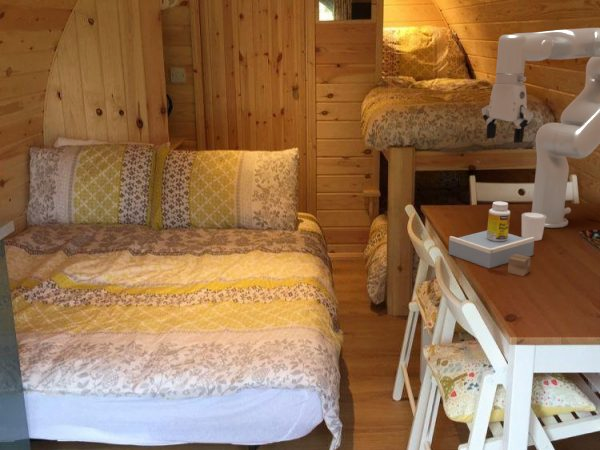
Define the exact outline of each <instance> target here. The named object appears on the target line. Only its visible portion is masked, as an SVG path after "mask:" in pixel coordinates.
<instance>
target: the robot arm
mask: <svg viewBox="0 0 600 450" xmlns="http://www.w3.org/2000/svg"><path fill="white" fill-rule="evenodd" d="M582 58H583V59H584V58H589V60H588V61H587V63H586V67H585V84H584V88H583V90H581V92H580V93H579V94H578V95H577V96H576V97H575V98H574V99H573V100H572V101H571V102H570V104H568V106H566V108H565V109H564V110H563V112H562V113H561V115H560V122H548V123H545V124H543V125H541V126H540V127H539V128H538V130H537V132H536V135H535V149H536V167H535V175H534V177H535V178H534V187H533V197H532V203H531V204H532V207H531V212H535V213H541V214H544V215H546V221H545V226H544V228H548V229H549V228H552V229H553V228H554V229H555V228H557V229H558V228H564V227H566V226H568V225H569V220H568V219H567V218H565V215H568V214H570V213H571V212H572V209H571V208H570V207H569V206H568V207H565V203H566V197H567V196H566V195H567V187H568V181H569V180H568V179H569V174H570V173H569V172H570V169H569V168H570V167H569V163H568V160H567V158H571V159H577V160H578V159H583V158H584V159H585V158H586V157H588V156H589V155H591V154H592V153H593V152H594V150H595V149H597V147H598V146H599V145H600V27H583V28H570V29H569V28H568V29H556V30H555V29H554V30H548V31H547V30H546V31H537V32H536V31H535V32H519V33H518V32H516V33H512V34H502V35H501V36H499V39H498V45H497V59H496V69H495V70H496V71H495V81H494V84H493V86H492V89H491V93H490V99H489V104H488V105H485V106H484V107H482V108H481V113H482V118H483V120H484V122H485V125H487V126H486V139H494V138H496V132H497V124H496V122H497V121H505V122H513V123H514V125H515V126H516V128H514V131H513V132H514V134H513V143H514V144H517V143H518V144H519V143H522V142H523V140H524V132H525V129H526V128H527V126H528V125H529V124H530V123H531V120H532V119H533V118H534V113H533V112H532V111H530V110H529V109H528V108H527V104H528V103H527V102H528V100H527V98H528V97H527V89H526V85H525V84H524V82H526V81H527V76H524V75H525V74H524V73H525V65H526V61H528V62H540V61H544V60H546V59H548V60H571V59H582Z"/></svg>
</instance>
